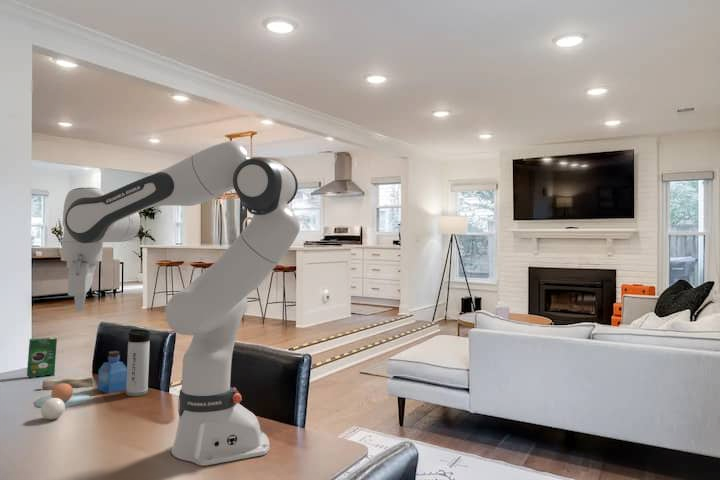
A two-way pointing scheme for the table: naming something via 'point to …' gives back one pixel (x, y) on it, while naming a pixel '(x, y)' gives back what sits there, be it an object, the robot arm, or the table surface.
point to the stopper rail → (68, 382)
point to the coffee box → (41, 357)
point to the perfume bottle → (112, 374)
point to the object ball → (62, 392)
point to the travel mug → (138, 362)
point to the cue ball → (52, 408)
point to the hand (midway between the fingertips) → (79, 310)
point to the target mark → (74, 400)
